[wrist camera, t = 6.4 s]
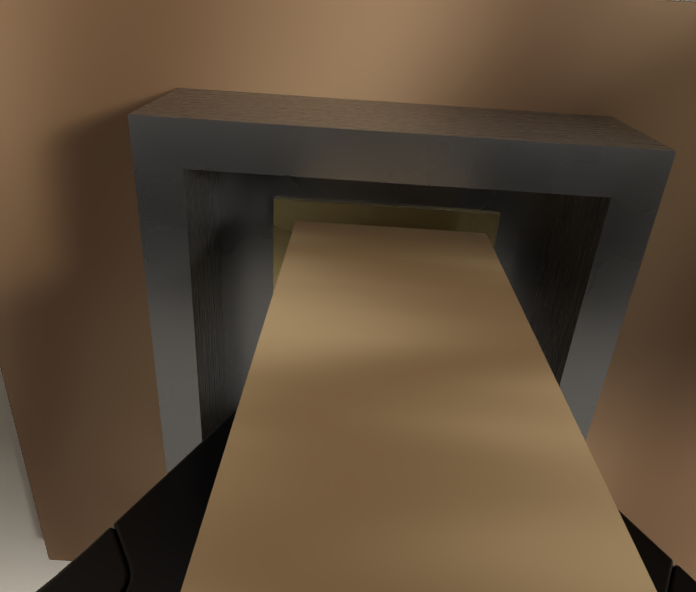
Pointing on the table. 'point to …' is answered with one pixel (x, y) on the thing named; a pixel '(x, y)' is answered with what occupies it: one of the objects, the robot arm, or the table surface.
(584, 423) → the tin
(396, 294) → the tan wooden brick
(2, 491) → the table surface
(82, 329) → the board
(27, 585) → the table surface
